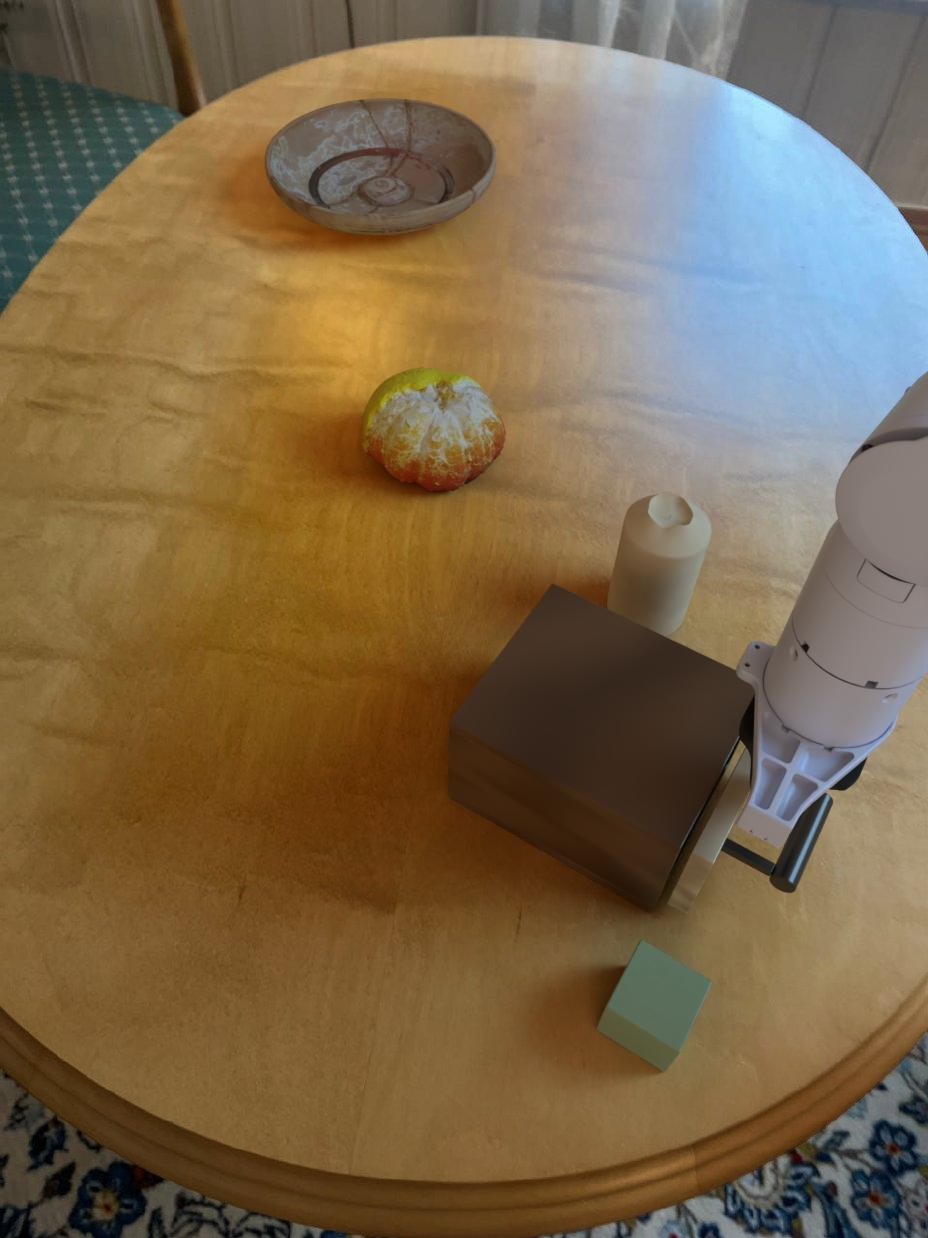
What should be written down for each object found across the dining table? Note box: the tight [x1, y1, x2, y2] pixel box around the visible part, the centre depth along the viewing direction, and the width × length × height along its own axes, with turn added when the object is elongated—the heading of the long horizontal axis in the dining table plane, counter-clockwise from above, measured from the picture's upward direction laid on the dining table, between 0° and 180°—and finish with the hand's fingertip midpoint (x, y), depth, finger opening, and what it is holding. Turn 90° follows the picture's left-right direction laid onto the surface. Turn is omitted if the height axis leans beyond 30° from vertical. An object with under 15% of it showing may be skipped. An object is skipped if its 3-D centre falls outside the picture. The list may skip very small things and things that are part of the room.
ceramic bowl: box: [264, 97, 497, 236], centre depth 99 cm, size 23×24×5 cm
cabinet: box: [447, 583, 755, 914], centre depth 56 cm, size 14×12×9 cm
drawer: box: [666, 746, 834, 915], centre depth 55 cm, size 17×10×7 cm, turn 58°
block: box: [595, 939, 713, 1073], centre depth 50 cm, size 4×4×4 cm
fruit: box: [361, 366, 507, 494], centre depth 75 cm, size 11×10×8 cm
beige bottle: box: [606, 491, 713, 637], centre depth 64 cm, size 6×6×10 cm
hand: (772, 790), depth 50 cm, fingers closed
